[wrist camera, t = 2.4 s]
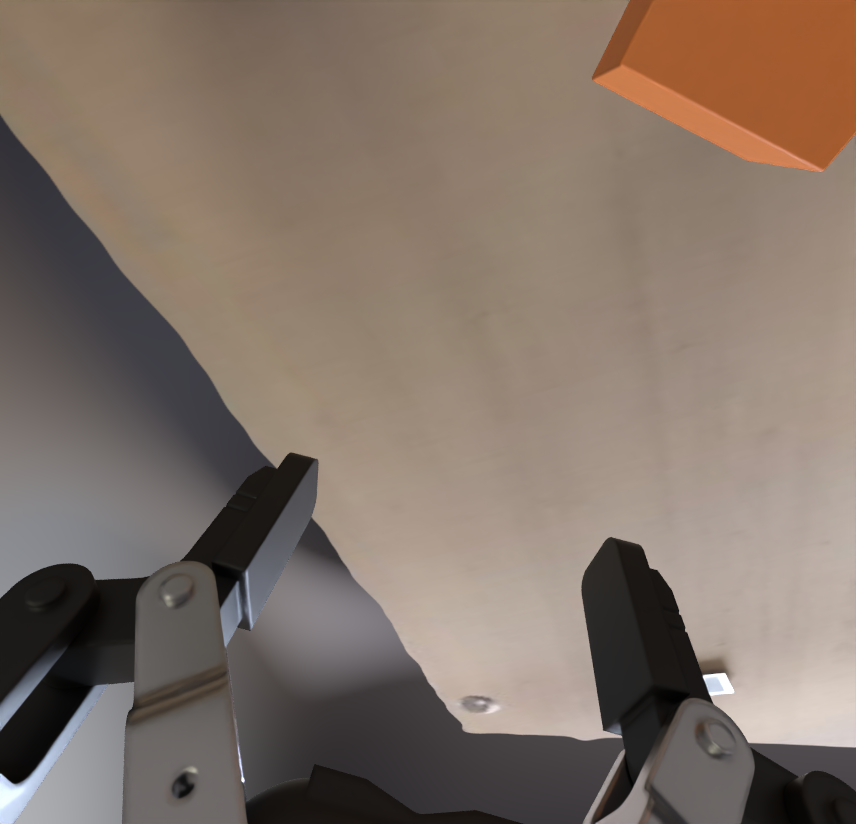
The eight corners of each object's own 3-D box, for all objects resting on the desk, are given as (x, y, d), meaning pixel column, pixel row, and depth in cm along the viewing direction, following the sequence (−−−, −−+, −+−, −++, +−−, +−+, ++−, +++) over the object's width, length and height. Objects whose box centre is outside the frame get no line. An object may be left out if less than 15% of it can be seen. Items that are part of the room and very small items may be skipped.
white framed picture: (732, 686, 81) (737, 699, 79) (650, 694, 87) (653, 706, 85) (722, 666, 78) (727, 679, 76) (638, 676, 84) (640, 688, 82)
